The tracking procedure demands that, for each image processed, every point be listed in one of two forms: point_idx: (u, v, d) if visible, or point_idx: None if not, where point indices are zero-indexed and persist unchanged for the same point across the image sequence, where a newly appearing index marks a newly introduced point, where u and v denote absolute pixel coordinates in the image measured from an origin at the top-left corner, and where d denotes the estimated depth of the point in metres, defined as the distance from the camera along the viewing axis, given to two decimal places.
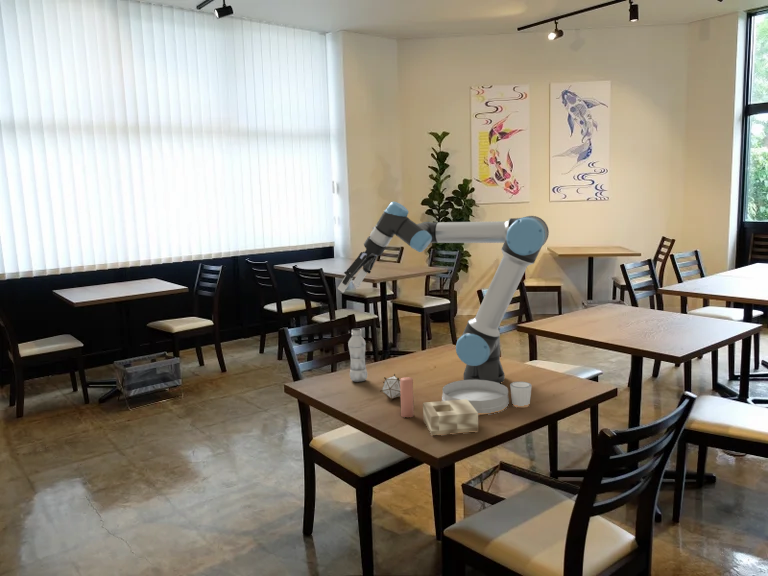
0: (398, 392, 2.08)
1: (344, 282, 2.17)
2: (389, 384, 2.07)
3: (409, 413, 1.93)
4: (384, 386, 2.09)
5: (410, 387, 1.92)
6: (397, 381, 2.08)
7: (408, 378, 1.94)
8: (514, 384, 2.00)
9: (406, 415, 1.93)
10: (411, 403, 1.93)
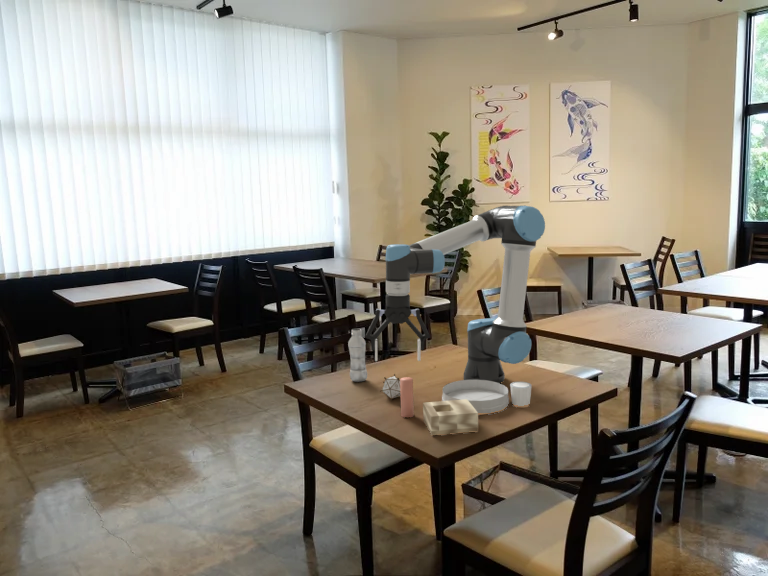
0: (398, 392, 2.08)
1: (423, 347, 1.93)
2: (389, 384, 2.07)
3: (409, 413, 1.93)
4: (384, 386, 2.09)
5: (410, 387, 1.92)
6: (397, 381, 2.08)
7: (408, 378, 1.94)
8: (514, 384, 2.00)
9: (406, 415, 1.93)
10: (411, 403, 1.93)
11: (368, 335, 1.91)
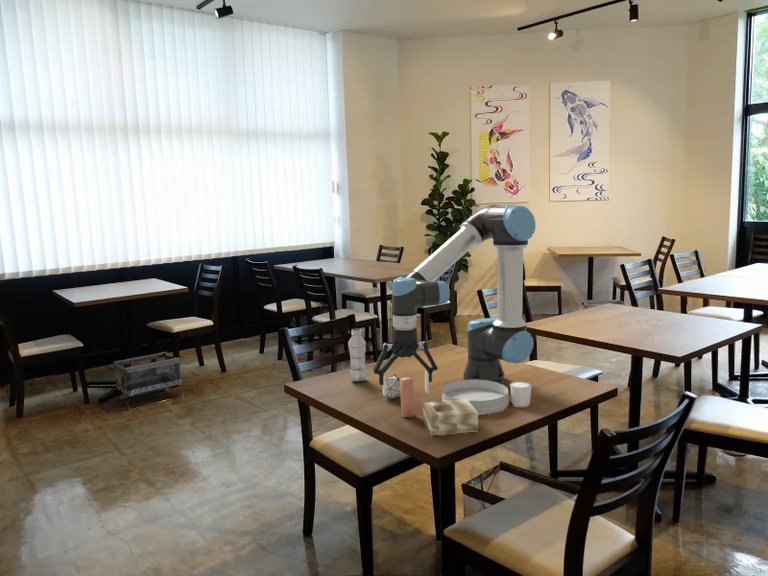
0: (398, 392, 2.08)
1: None
2: (389, 384, 2.07)
3: (409, 413, 1.93)
4: None
5: (410, 387, 1.92)
6: (397, 381, 2.08)
7: (408, 378, 1.94)
8: (514, 384, 2.00)
9: (406, 415, 1.93)
10: (411, 403, 1.93)
11: (376, 370, 1.90)
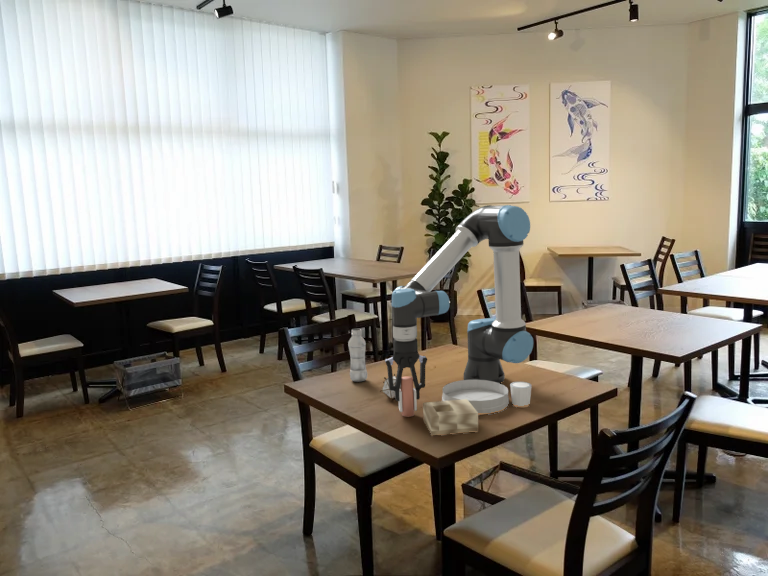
0: None
1: None
2: None
3: (410, 412, 1.93)
4: (384, 386, 2.09)
5: (410, 386, 1.92)
6: None
7: (408, 377, 1.94)
8: (514, 384, 2.00)
9: (407, 414, 1.93)
10: (411, 402, 1.93)
11: (391, 387, 1.91)
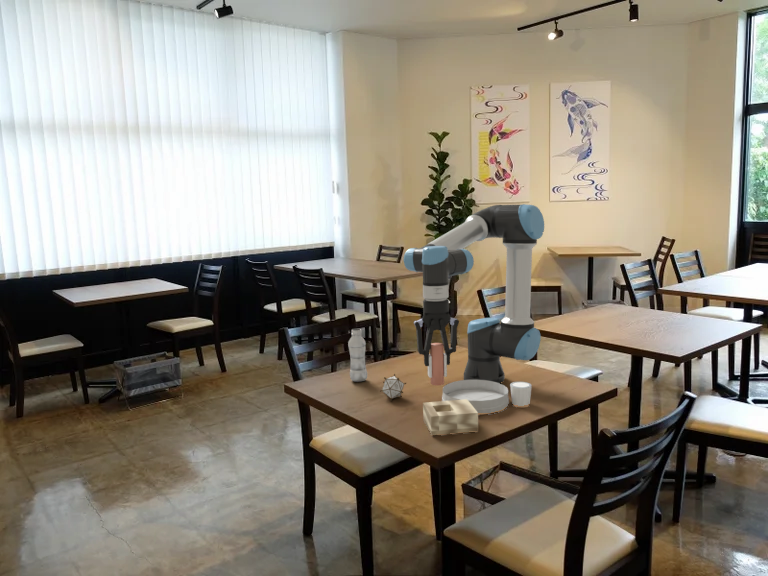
0: (398, 392, 2.08)
1: None
2: (389, 384, 2.07)
3: (439, 381, 1.81)
4: (384, 386, 2.09)
5: (441, 353, 1.80)
6: (397, 381, 2.08)
7: (438, 343, 1.82)
8: (514, 384, 2.00)
9: (436, 383, 1.81)
10: (442, 370, 1.81)
11: (421, 350, 1.80)
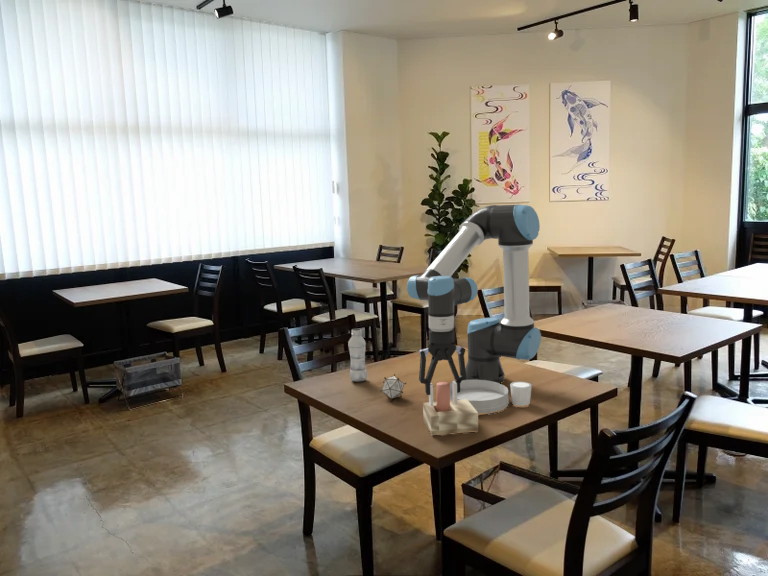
0: (398, 392, 2.08)
1: None
2: (389, 384, 2.07)
3: None
4: (384, 386, 2.09)
5: (447, 392, 1.81)
6: (397, 381, 2.08)
7: (445, 382, 1.83)
8: (514, 384, 2.00)
9: None
10: (448, 409, 1.82)
11: (422, 379, 1.80)
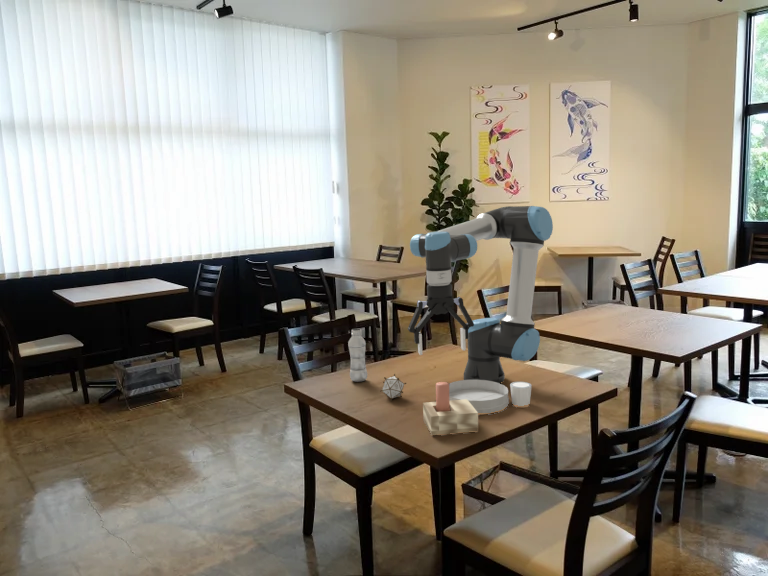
0: (398, 392, 2.08)
1: None
2: (389, 384, 2.07)
3: None
4: (384, 386, 2.09)
5: (447, 392, 1.81)
6: (397, 381, 2.08)
7: (444, 382, 1.83)
8: (514, 384, 2.00)
9: None
10: (447, 409, 1.82)
11: (412, 329, 1.83)
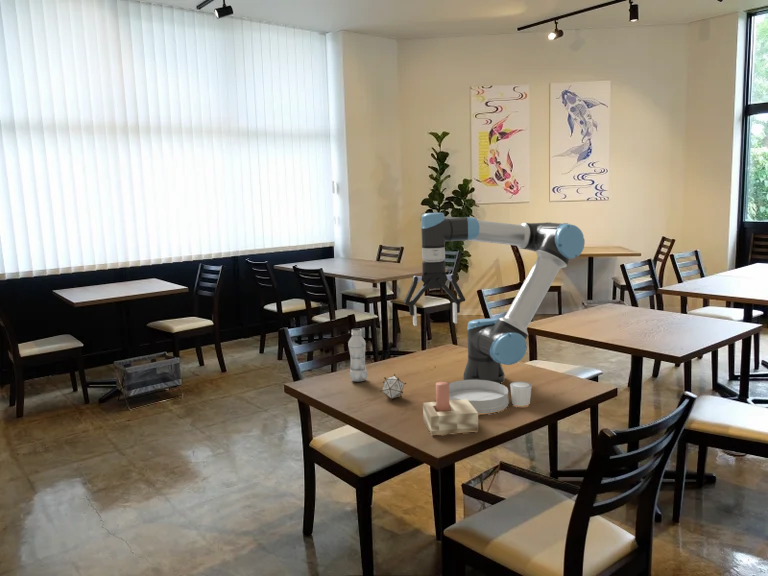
0: (398, 392, 2.08)
1: None
2: (389, 384, 2.07)
3: None
4: (384, 386, 2.09)
5: (446, 392, 1.81)
6: (397, 381, 2.08)
7: (444, 382, 1.83)
8: (514, 384, 2.00)
9: None
10: (447, 409, 1.82)
11: (407, 301, 1.99)
